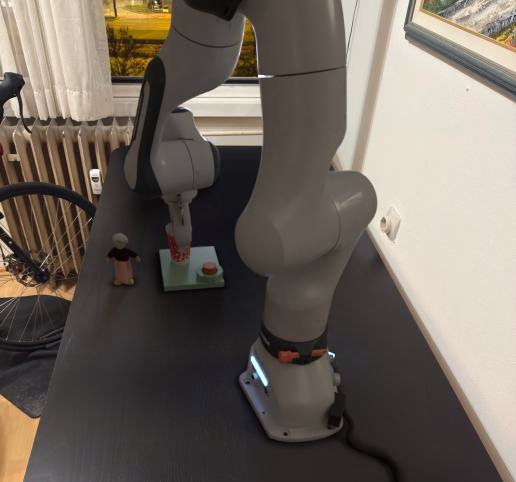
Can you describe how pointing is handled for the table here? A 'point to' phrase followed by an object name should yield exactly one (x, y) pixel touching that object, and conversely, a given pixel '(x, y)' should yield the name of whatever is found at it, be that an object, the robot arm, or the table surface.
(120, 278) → the grandmother figurine
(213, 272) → the tare button
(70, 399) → the table surface
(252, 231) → the robot arm
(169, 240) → the beverage cup
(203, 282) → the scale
